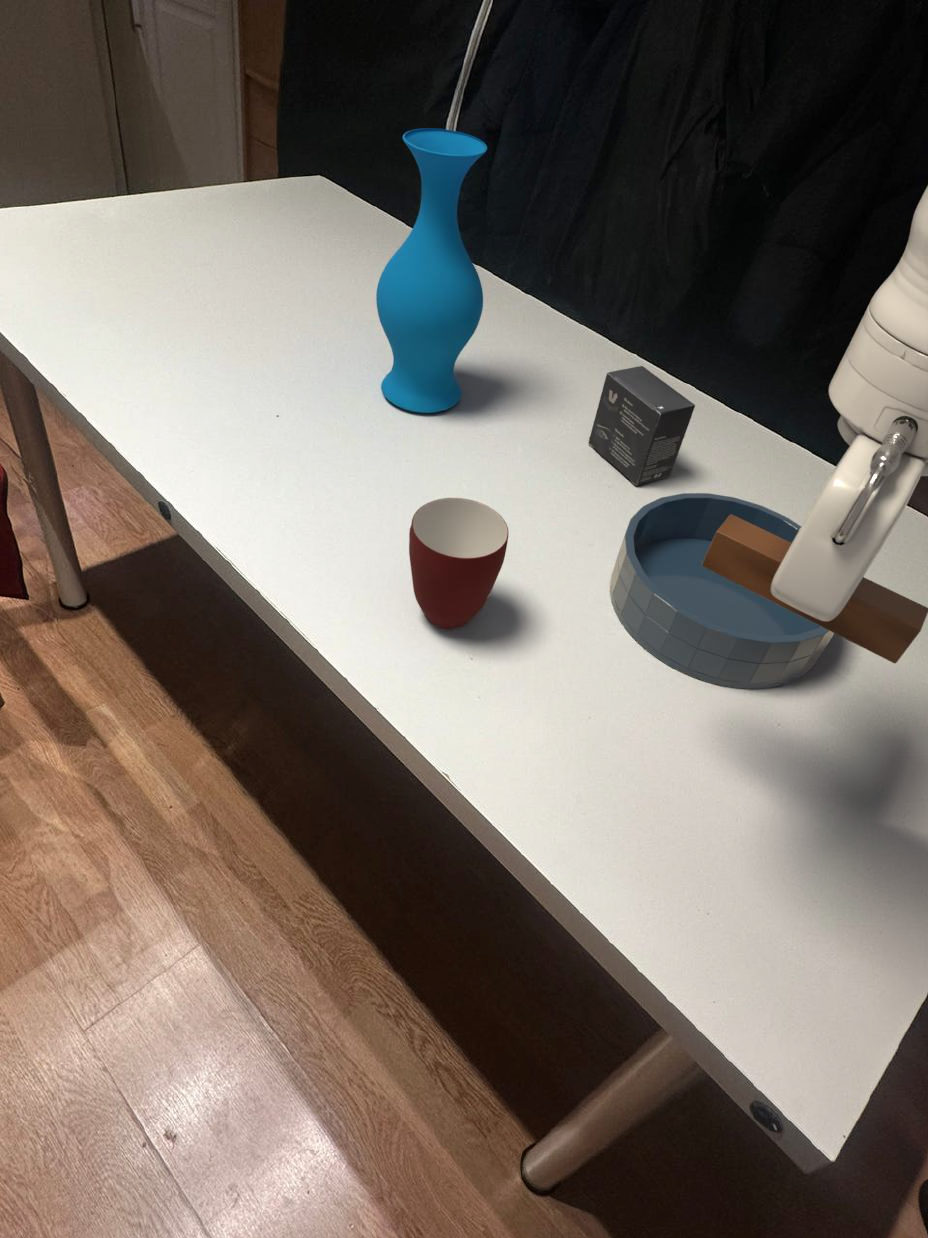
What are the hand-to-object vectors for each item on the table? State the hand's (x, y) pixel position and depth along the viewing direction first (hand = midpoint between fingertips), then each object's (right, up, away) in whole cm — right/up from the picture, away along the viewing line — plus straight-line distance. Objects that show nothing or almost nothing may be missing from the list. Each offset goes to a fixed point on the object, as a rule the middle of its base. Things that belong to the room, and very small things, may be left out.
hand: (811, 584), depth 52 cm
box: (-3, +16, +45) cm, 48 cm away
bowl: (+2, -1, +28) cm, 28 cm away
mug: (-24, -1, +23) cm, 33 cm away
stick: (0, -1, +1) cm, 2 cm away
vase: (-27, +25, +50) cm, 62 cm away
